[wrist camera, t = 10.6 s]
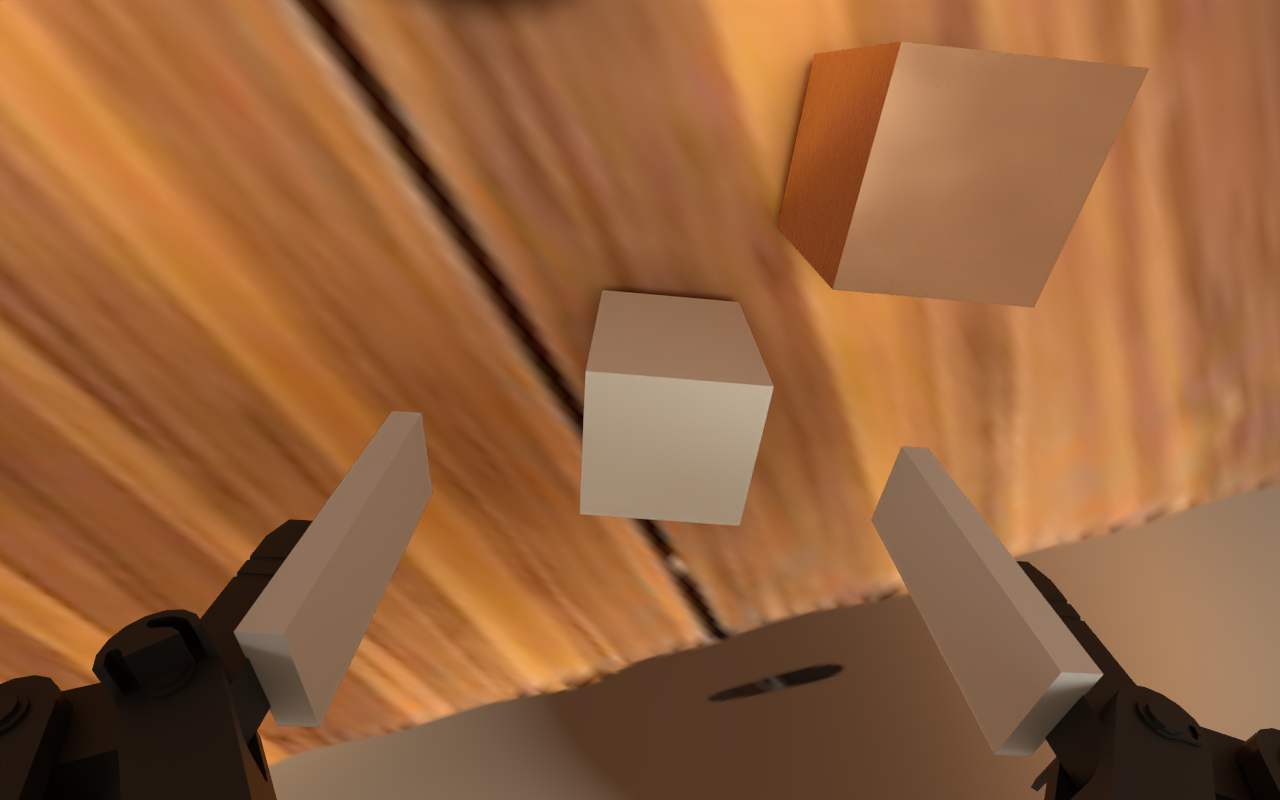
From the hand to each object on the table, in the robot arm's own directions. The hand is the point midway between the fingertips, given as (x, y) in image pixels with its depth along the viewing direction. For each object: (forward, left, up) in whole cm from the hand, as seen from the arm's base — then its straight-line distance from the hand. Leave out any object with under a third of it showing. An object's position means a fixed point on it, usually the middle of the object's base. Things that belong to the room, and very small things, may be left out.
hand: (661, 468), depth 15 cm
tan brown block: (+6, +8, -9) cm, 13 cm away
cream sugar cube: (0, 0, -8) cm, 8 cm away
